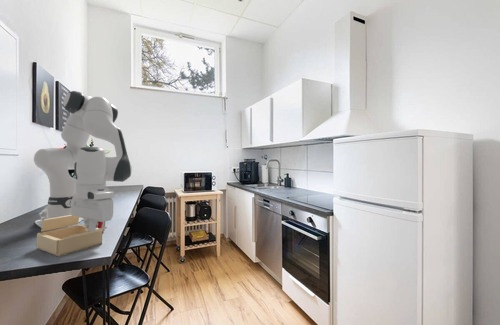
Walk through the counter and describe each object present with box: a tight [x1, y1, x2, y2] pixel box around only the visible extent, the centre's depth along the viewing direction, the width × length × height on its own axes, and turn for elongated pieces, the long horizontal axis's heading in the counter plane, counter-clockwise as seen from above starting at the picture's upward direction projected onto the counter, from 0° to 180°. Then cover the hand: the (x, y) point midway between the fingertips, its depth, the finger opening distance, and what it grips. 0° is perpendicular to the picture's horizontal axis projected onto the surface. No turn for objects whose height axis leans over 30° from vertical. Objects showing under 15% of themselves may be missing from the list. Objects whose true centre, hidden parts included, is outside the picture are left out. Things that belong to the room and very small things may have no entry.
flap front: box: [63, 226, 108, 239], centre depth 82 cm, size 1×12×5 cm
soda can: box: [96, 221, 106, 233], centre depth 103 cm, size 7×7×12 cm
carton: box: [36, 224, 103, 258], centre depth 87 cm, size 16×15×6 cm
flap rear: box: [40, 215, 79, 233], centre depth 90 cm, size 1×12×5 cm, turn 152°
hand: (90, 231), depth 81 cm, fingers closed
